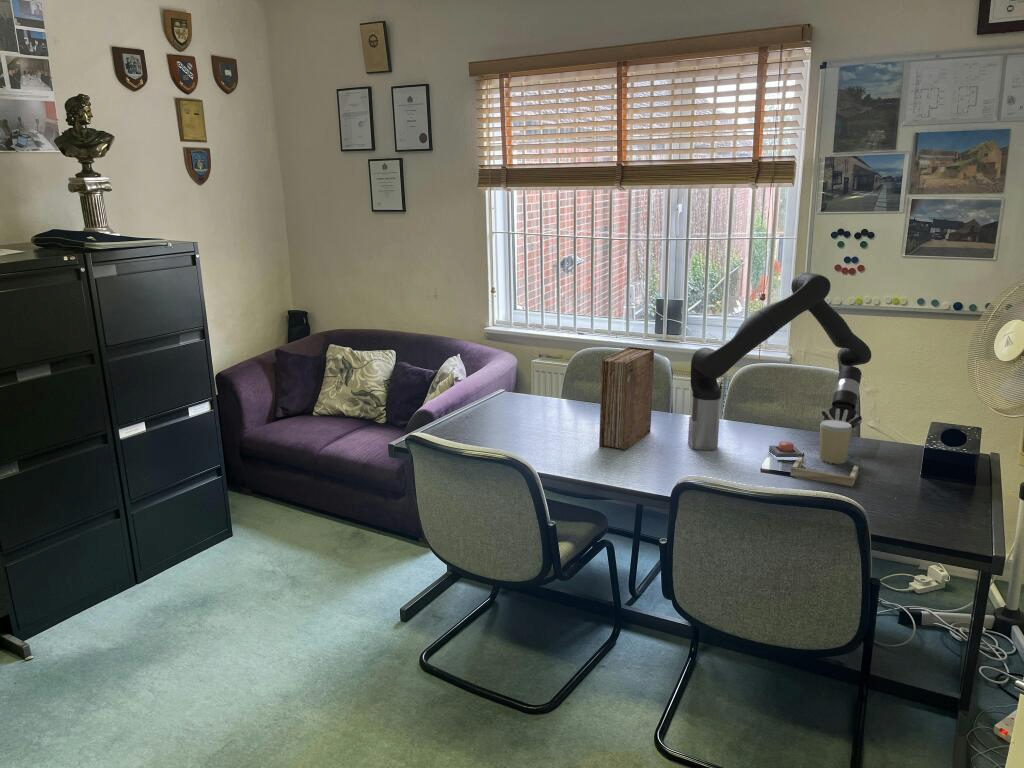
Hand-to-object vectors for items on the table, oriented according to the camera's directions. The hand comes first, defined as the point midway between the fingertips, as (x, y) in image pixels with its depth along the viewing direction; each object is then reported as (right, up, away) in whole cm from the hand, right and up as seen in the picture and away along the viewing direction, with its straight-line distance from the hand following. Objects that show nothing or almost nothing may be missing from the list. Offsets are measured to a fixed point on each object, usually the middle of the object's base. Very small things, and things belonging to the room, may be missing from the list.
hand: (836, 439), depth 247 cm
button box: (-17, -5, -2) cm, 18 cm away
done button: (-17, -4, -2) cm, 18 cm away
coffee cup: (-3, -6, -5) cm, 9 cm away
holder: (-11, -9, -18) cm, 23 cm away
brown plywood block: (-66, -1, +16) cm, 68 cm away
